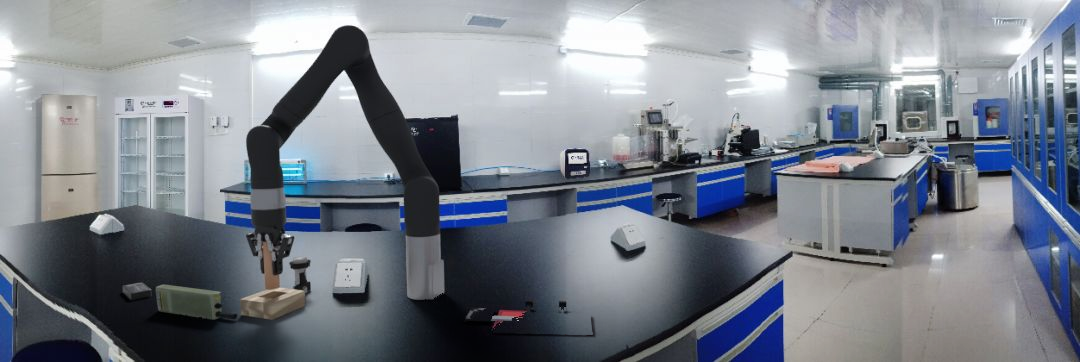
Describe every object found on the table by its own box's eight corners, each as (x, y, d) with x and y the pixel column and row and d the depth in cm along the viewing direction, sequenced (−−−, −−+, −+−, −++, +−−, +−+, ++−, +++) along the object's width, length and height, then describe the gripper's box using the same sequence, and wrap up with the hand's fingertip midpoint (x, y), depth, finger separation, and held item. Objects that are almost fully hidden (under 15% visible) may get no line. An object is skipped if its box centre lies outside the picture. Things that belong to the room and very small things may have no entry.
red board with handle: (473, 308, 118) (458, 334, 103) (472, 298, 118) (458, 322, 103) (590, 312, 116) (593, 339, 101) (590, 302, 116) (593, 327, 101)
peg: (282, 286, 118) (280, 240, 116) (271, 290, 114) (269, 242, 113) (273, 285, 119) (270, 239, 117) (262, 288, 116) (259, 241, 114)
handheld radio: (169, 307, 120) (242, 318, 112) (155, 312, 116) (229, 324, 109) (166, 283, 119) (239, 292, 111) (152, 287, 116) (226, 297, 108)
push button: (300, 298, 126) (298, 262, 125) (283, 297, 127) (281, 261, 126) (316, 290, 132) (314, 256, 132) (299, 289, 133) (297, 255, 132)
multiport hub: (131, 301, 124) (130, 293, 124) (122, 293, 131) (122, 285, 131) (152, 297, 128) (151, 289, 128) (142, 289, 135) (142, 281, 135)
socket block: (305, 305, 120) (304, 290, 120) (272, 319, 111) (271, 303, 110) (275, 301, 123) (275, 286, 123) (241, 314, 114) (240, 299, 114)
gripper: (302, 205, 116) (305, 272, 118) (260, 202, 120) (263, 267, 122) (277, 209, 109) (280, 280, 110) (233, 206, 113) (237, 275, 115)
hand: (271, 273), depth 116 cm, fingers closed on peg, 3 cm apart
